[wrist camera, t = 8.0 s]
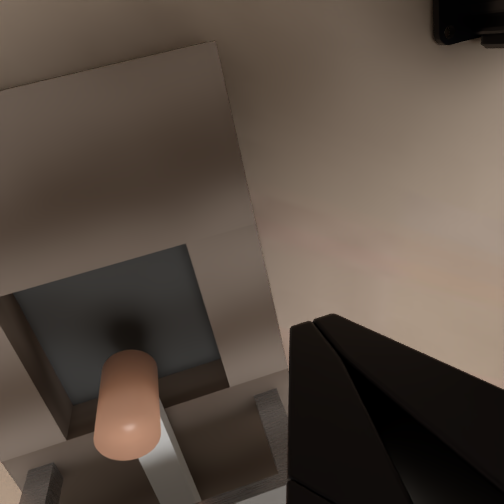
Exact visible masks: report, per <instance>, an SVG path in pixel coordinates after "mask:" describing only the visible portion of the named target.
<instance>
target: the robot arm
mask: <svg viewBox="0 0 504 504" xmlns="http://www.w3.org/2000/svg"><path fill="white" fill-rule="evenodd" d="M433 25H434V39H435V41H436V43H438V44H439V45H451V44H455V43H459V42H463V41H467V40H471V39H475V38H479V37H481V45H482V46H484V47H485V48H504V0H433ZM447 27H448V28H449V35H448V36H447V38H446V37H445V34H444V32H445V29H446V28H447ZM286 504H504V389H501V388H499V387H497V386H495V385H493V384H490V383H488V382H486V381H484V380H481V379H479V378H477V377H475V376H473V375H470V374H468V373H466V372H464V371H461V370H459V369H457V368H455V367H453V366H450V365H448V364H446V363H444V362H441V361H439V360H437V359H435V358H433V357H430V356H428V355H426V354H424V353H421V352H419V351H417V350H415V349H413V348H410V347H408V346H406V345H404V344H401V343H399V342H397V341H395V340H393V339H390V338H388V337H386V336H384V335H381V334H379V333H377V332H375V331H373V330H370V329H368V328H366V327H364V326H361V325H359V324H357V323H355V322H352V321H350V320H348V319H346V318H344V317H341V316H339V315H337V314H328V315H325V316H322V317H319V318H316V319H314V320H313V322H311V321H306V322H303V323H300V324H297V325H294V326H292V327H291V328H290V345H289V394H288V442H287V483H286Z"/></svg>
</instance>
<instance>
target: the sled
mask: <svg viewBox="0 0 504 504" xmlns="http://www.w3.org/2000/svg"><path fill="white" fill-rule="evenodd" d="M93 440H94V445H95V447H96V449H97V450H98V451H99V452H100V453H101V454H102V455H103V456H105V457H107V458H110V459H113V460H120V461H127V460H133V459H137V458H138V459H139V461H140V463H141V465H142V467H143V469H144V471H145V473H146V475H147V477H148V480H149V482H150V484H151V486H152V488H153V490H154V492H155V494H156V496H157V498H158V500H159V502H160V504H194V503H197V502H200V501H202V500H201V498H200V496H199V493H198V491H197V488H196V486H195V483H194V481H193V478H192V476H191V474H190V471H189V469H188V466H187V464H186V461H185V459H184V456H183V454H182V452H181V449H180V447H179V444H178V442H177V439H176V437H175V435H174V432H173V430H172V427H171V425H170V422H169V420H168V417H167V415H166V413H165V410H164V408H163V405H162V403H161V400H160V398H159V385H158V368H157V364H156V362H155V360H154V359H153V358H152V357H151V356H150V355H149V354H147V353H145V352H143V351H140V350H124V351H120V352H117V353H115V354H114V355H112V356H111V357H109V358H108V359H107V360H106V362H105V363H104V365H103V368H102V373H101V381H100V389H99V397H98V405H97V413H96V421H95V429H94V438H93Z"/></svg>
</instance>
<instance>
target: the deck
mask: <svg viewBox="0 0 504 504" xmlns="http://www.w3.org/2000/svg"><path fill="white" fill-rule="evenodd" d="M124 350H140V351H143V352H145V353H147V354H149V355H150V356H151V357H152V358H153V359H154V360H155V362H156V364H157V368H158V385H159V398H160V400H161V403H162V405H163V408H164V410H165V413H166V415H167V417H168V420H169V422H170V425H171V427H172V430H173V432H174V435H175V437H176V439H177V442H178V444H179V447H180V449H181V452H182V454H183V456H184V459H185V461H186V464H187V466H188V469H189V471H190V474H191V476H192V478H193V481H194V483H195V486H196V488H197V491H198V493H199V496H200V498H201V500H202V501H203V500H205V499H208V498H211V497H214V496H217V495H220V494H222V493H225V492H228V491H231V490H234V489H236V488H239V487H242V486H245V485H248V484H250V483H253V482H256V481H259V480H262V479H265V478H267V477H270V476H273V475H276V474H278V472H277V469H276V466H275V463H274V459H273V456H272V453H271V450H270V447H269V444H268V441H267V438H266V435H265V432H264V429H263V426H262V422H261V419H260V416H259V413H258V410H257V406H256V402H255V399H254V395H257V394H260V393H263V392H266V391H269V390H272V389H275V388H276V389H277V391H278V394H279V396H280V399H281V401H282V404H283V406H284V409H285V411H286V414H287V416H288V394H289V371H288V366H287V362H286V357H285V353H284V348H283V344H282V339H281V335H280V330H279V326H278V321H277V317H276V312H275V308H274V303H273V298H272V294H271V289H270V285H269V280H268V276H267V271H266V267H265V262H264V258H263V253H262V249H261V244H260V240H259V235H258V231H257V226H256V221H255V217H254V212H253V208H252V203H251V199H250V194H249V190H248V185H247V181H246V176H245V172H244V167H243V163H242V158H241V153H240V149H239V144H238V140H237V135H236V131H235V126H234V122H233V117H232V113H231V108H230V104H229V99H228V95H227V90H226V85H225V81H224V76H223V72H222V67H221V63H220V58H219V54H218V49H217V45H216V41H211V42H205V43H200V44H196V45H192V46H188V47H183V48H179V49H175V50H171V51H166V52H162V53H158V54H154V55H149V56H145V57H141V58H136V59H132V60H128V61H124V62H119V63H115V64H111V65H107V66H102V67H98V68H94V69H89V70H85V71H81V72H77V73H72V74H68V75H64V76H60V77H55V78H51V79H47V80H42V81H38V82H34V83H30V84H25V85H21V86H17V87H13V88H8V89H4V90H0V461H1V462H2V464H3V465H4V467H5V468H6V469H7V471H8V472H9V474H10V475H11V477H12V478H13V480H14V481H15V482H16V484H17V485H18V487H19V488H20V490H21V491H22V492H23V488H24V484H25V480H26V477H27V473H28V470H31V469H34V468H37V467H40V466H43V465H46V464H49V463H52V462H54V463H55V465H56V467H57V468H58V470H59V471H60V473H61V475H62V476H63V484H62V489H61V495H60V500H59V504H160V502H159V500H158V498H157V496H156V494H155V492H154V490H153V488H152V486H151V484H150V482H149V480H148V477H147V475H146V473H145V471H144V469H143V467H142V465H141V463H140V461H139V459H138V458H137V459H133V460H127V461H120V460H113V459H110V458H107V457H105V456H103V455H102V454H101V453H100V452H99V451H98V450H97V449H96V447H95V445H94V440H93V438H94V429H95V421H96V413H97V405H98V397H99V389H100V381H101V373H102V368H103V365H104V363H105V362H106V360H107V359H108V358H109V357H111V356H112V355H114V354H115V353H117V352H120V351H124Z"/></svg>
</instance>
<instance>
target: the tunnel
mask: <svg viewBox="0 0 504 504" xmlns="http://www.w3.org/2000/svg"><path fill="white" fill-rule="evenodd" d="M254 399H255V402H256V406H257V410H258V413H259V416H260V419H261V422H262V426H263V429H264V432H265V435H266V438H267V441H268V444H269V447H270V450H271V453H272V456H273V459H274V463H275V466H276V469H277V472H278V474H276V475H273V476H270V477H267V478H265V479H262V480H259V481H256V482H253V483H250V484H248V485H245V486H242V487H239V488H236V489H234V490H231V491H228V492H225V493H222V494H220V495H217V496H214V497H211V498H208V499H205V500H203V501H200V502H197V503H194V504H286V483H287V442H288V416H287V414H286V411H285V409H284V406H283V404H282V401H281V399H280V396H279V394H278V391H277V389H276V388H275V389H272V390H269V391H266V392H263V393H260V394H257V395H254ZM62 484H63V476H62V475H61V473H60V471H59V470H58V468H57V467H56V465H55V463H54V462H52V463H49V464H46V465H43V466H40V467H37V468H34V469H31V470H28V473H27V477H26V480H25V484H24V488H23V492H22V495H21V499H20V503H19V504H59V500H60V495H61V489H62Z"/></svg>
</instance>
